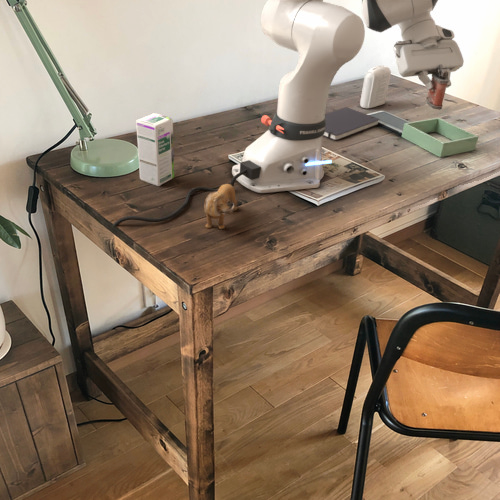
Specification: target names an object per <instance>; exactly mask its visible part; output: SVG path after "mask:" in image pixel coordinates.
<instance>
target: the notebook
mask: <svg viewBox="0 0 500 500" xmlns="http://www.w3.org/2000/svg"><path fill="white" fill-rule="evenodd" d="M325 117H326V127H325V133H324V135H323V137H325V138H327V139H330V140H333V141H339V140H341V139H344V138H346V137H349V136H352V135H354V134H357V133H360V132H362V131H365V130H367V129H371V128H373V127H376V126H378V125H379V121H380V118H378V117H375V116H373V115H371V114H370V115H369V114H366V113H364V112H361V111H359V110H356V109H353V108H350V107H347V106H345V107H343V108H339V109H335V110H333V111H330V112H328V113H325Z"/></svg>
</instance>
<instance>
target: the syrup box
mask: <svg viewBox="0 0 500 500" xmlns="http://www.w3.org/2000/svg"><path fill="white" fill-rule="evenodd" d="M173 123H174V122H173V118H171V117H169V116H167V115H163V114H159V113H154V112H152V113H151V114H149V115H146V116H144V117H142V118H139V119H136V120H135V127H136V139H137V141H136V142H137V154H138V157H137V158H138V169H139V179H140V180H141V181H142V182H145V183H148V184H151V185H153V186H157V187H161V185H163V184H166V183H167V182H169V181H170V180H173V179H174V178H175V153H174V150H175V149H174V124H173Z"/></svg>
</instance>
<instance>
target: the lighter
mask: <svg viewBox="0 0 500 500" xmlns="http://www.w3.org/2000/svg"><path fill="white" fill-rule="evenodd" d="M437 70H438V72H432V74H431V79H430V80H431V81H434V84H435V88H433V89H432V90H428V93H427V96H426V98H425V103H426V105H428V107H429V108H430V109H432V110H438V111H439V110H442V109H443V102H444V99H445V95H446V91H447V88H446V87H447V84H448V82H449V79H448V77H447V76H446V75H447V67H444V66H443V65H442V64H441V65H439V66H438V69H437Z"/></svg>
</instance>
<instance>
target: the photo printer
mask: <svg viewBox="0 0 500 500" xmlns="http://www.w3.org/2000/svg"><path fill="white" fill-rule="evenodd" d="M391 76H392V71H391V69H390V67H389V66H385V65H377V66H374V67H371V68H369V70H367V71H366V72H365V74H364V77H363V84H362V89H361V95H360V101H359V106H360V107H361V108H363V109H366V110H367V109H372V108H376V107H378V106H382V105H384V104H386V101H387V96H388V91H389V86H390V82H391V81H390V80H391Z"/></svg>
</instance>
